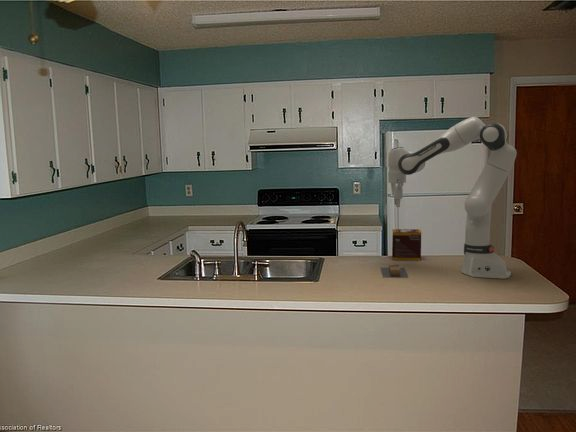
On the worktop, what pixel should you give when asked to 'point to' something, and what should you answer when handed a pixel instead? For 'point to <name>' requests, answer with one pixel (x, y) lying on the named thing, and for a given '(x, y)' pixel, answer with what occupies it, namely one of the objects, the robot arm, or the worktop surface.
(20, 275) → the worktop surface
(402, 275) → the rubber mat
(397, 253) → the supplement box
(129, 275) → the worktop surface
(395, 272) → the walnut block
